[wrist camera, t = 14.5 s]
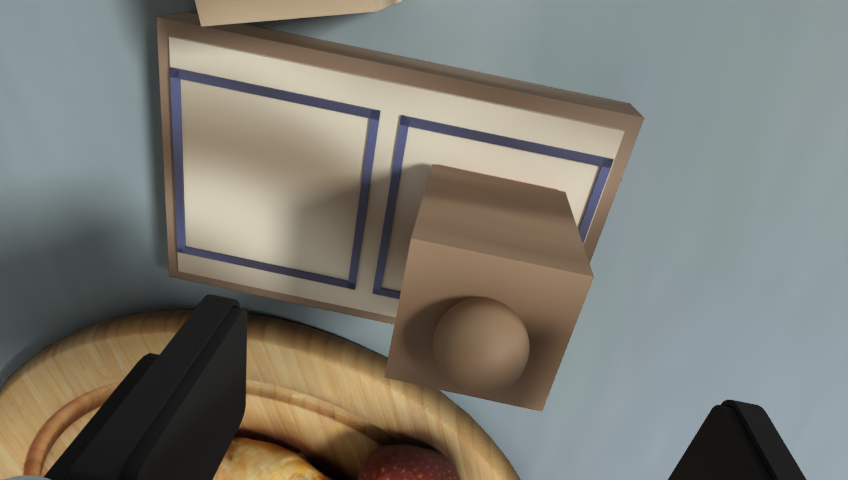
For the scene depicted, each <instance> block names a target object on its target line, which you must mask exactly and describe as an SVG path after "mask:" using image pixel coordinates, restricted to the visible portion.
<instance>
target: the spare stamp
mask: <svg viewBox="0 0 848 480" xmlns="http://www.w3.org/2000/svg"><path fill="white" fill-rule="evenodd" d="M401 1H403V0H195V3H196V7H197V11H198V15H199V19H200V23H201V27H202V26H214V25H225V24H237V23H249V22H260V21H272V20H284V19H295V18H307V17H319V16H331V15H342V14H354V13H366V12H377V11H379V10H382V9H384V8H386V7H389V6H391V5H394V4H396V3H398V2H401Z"/></svg>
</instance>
